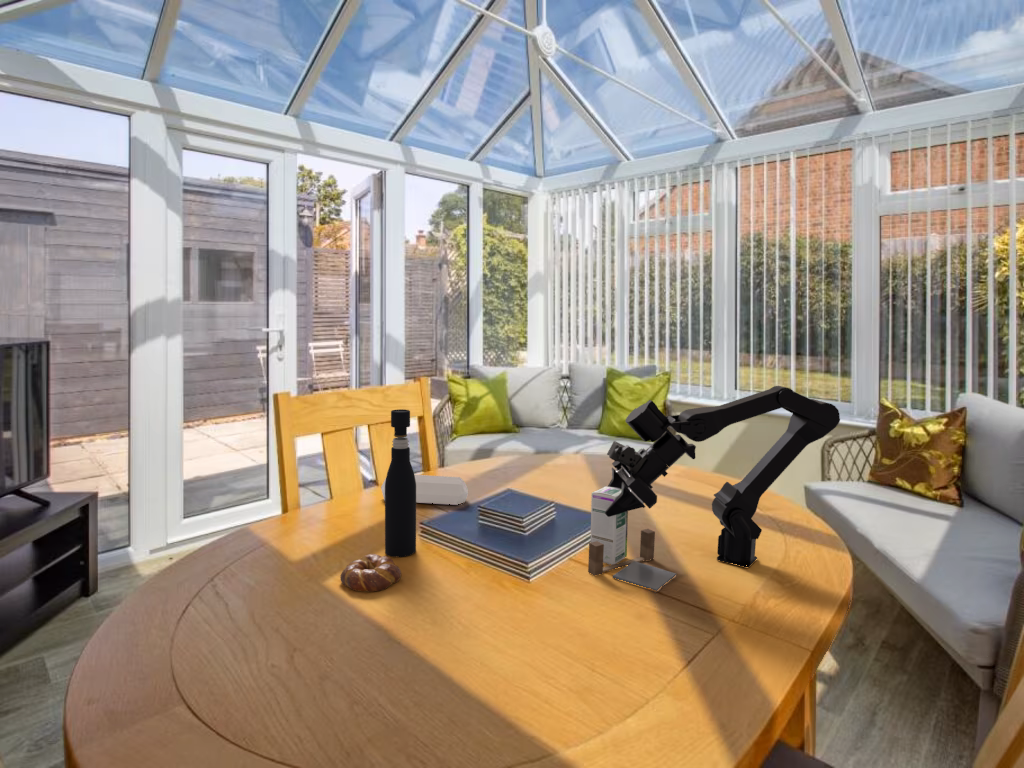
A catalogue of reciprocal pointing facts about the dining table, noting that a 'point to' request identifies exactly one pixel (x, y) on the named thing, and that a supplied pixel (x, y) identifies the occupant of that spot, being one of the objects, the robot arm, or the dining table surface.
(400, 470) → the black water bottle
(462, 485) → the crystal
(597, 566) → the gate
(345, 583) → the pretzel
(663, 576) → the slate tile
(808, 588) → the dining table surface
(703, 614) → the dining table surface
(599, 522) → the syrup box
